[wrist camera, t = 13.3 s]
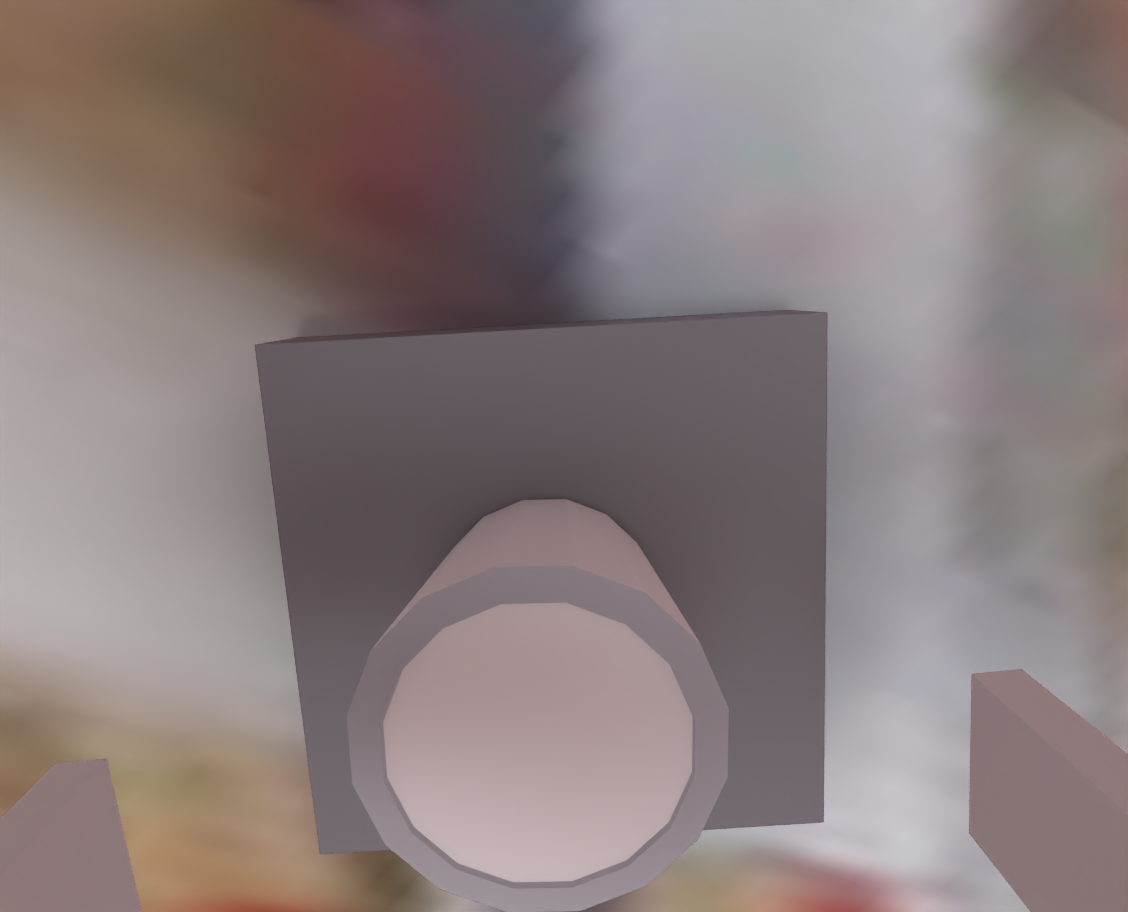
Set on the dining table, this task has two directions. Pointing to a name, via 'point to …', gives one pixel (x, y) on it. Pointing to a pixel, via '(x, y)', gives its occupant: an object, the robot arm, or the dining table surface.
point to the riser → (577, 473)
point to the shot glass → (539, 717)
